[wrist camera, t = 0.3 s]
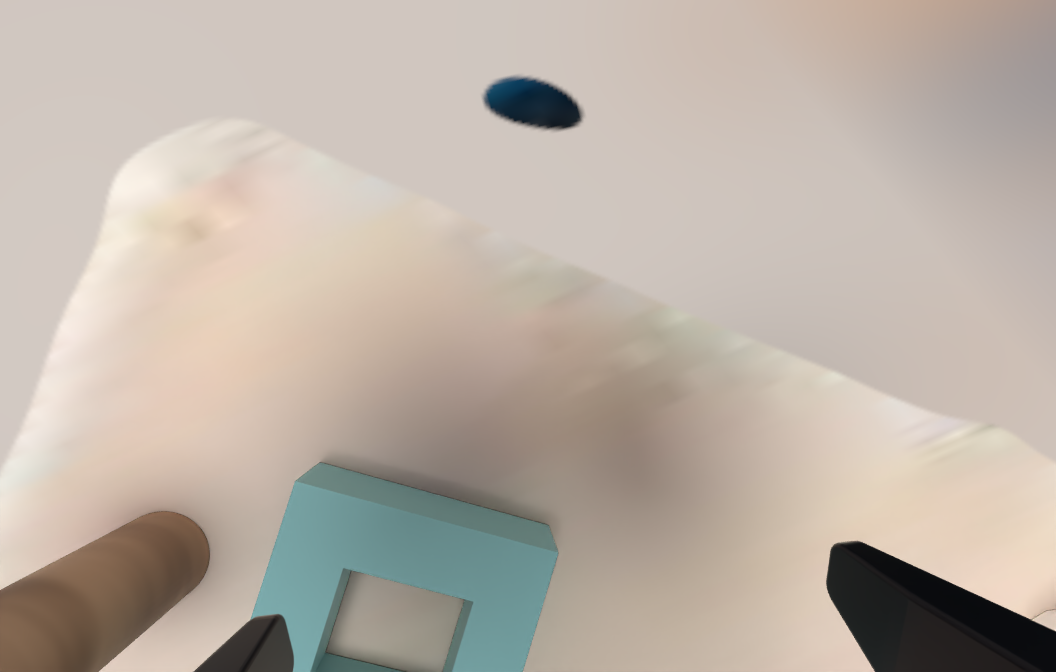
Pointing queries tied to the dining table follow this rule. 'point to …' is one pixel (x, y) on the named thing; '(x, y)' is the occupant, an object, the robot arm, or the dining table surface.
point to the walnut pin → (100, 596)
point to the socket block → (406, 566)
